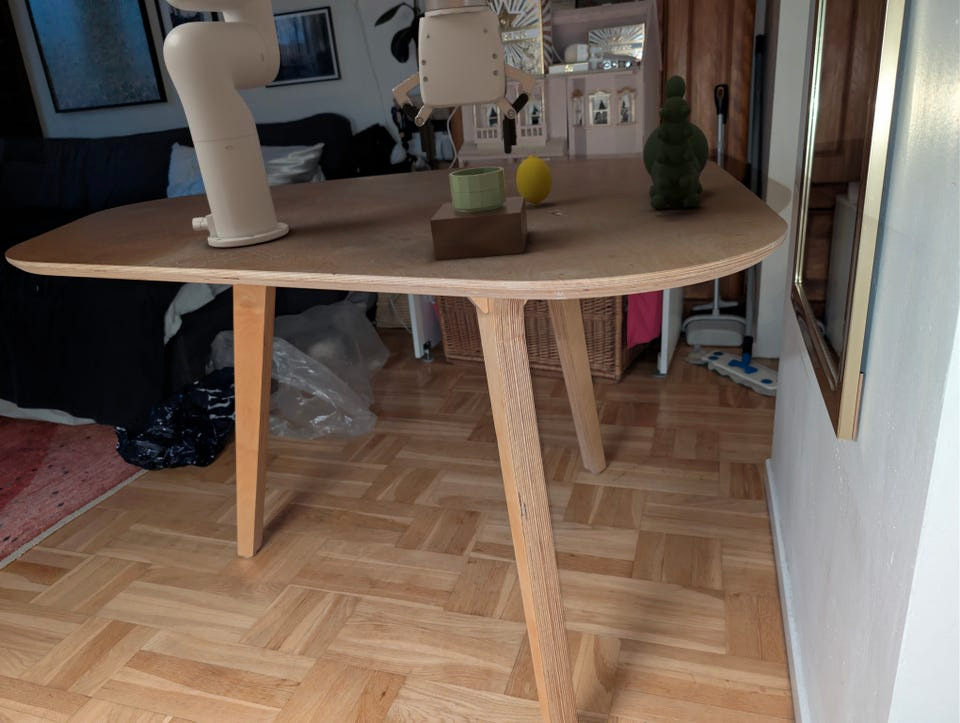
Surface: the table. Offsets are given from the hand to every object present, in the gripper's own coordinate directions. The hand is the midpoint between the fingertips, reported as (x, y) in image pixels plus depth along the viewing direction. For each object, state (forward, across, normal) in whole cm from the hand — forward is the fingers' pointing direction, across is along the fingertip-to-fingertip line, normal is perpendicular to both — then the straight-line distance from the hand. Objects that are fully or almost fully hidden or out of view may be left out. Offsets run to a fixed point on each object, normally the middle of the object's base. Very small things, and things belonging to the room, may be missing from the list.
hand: (469, 155), depth 87 cm
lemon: (+12, -7, -24) cm, 27 cm away
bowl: (+6, -1, 0) cm, 7 cm away
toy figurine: (+11, -28, -16) cm, 34 cm away
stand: (+12, -1, 0) cm, 12 cm away
